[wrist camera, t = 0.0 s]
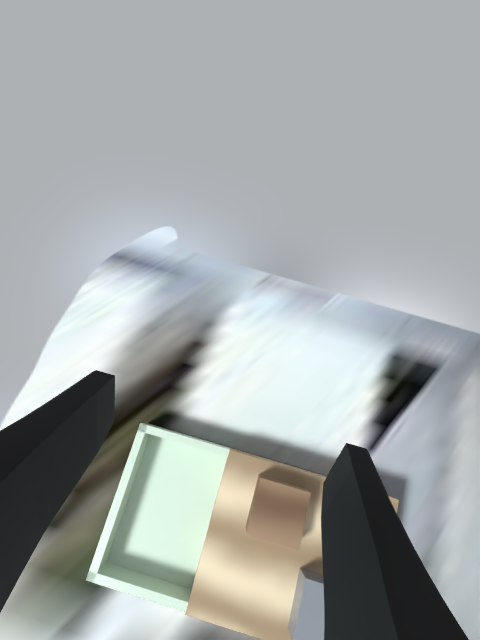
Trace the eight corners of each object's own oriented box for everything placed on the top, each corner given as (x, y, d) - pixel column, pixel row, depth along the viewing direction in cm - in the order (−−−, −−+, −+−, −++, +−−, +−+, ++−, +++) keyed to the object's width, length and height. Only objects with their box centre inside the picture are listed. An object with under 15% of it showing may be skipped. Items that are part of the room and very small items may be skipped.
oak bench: (359, 648, 36) (374, 675, 32) (189, 595, 37) (185, 614, 33) (382, 492, 40) (398, 499, 37) (229, 447, 41) (229, 449, 37)
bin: (189, 595, 37) (185, 612, 34) (98, 566, 38) (85, 580, 34) (229, 447, 41) (229, 449, 38) (147, 423, 42) (140, 423, 38)
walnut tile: (294, 541, 35) (299, 550, 33) (245, 526, 35) (246, 534, 33) (305, 488, 37) (310, 492, 34) (258, 474, 37) (260, 477, 34)
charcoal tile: (340, 644, 33) (349, 661, 31) (287, 627, 33) (292, 643, 31) (350, 583, 34) (359, 594, 32) (299, 567, 35) (305, 578, 32)
